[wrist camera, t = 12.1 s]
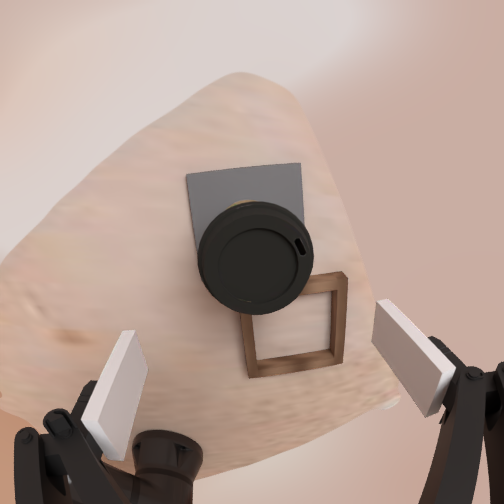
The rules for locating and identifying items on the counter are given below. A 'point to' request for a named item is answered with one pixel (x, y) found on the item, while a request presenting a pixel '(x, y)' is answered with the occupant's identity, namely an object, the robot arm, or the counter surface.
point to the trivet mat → (243, 191)
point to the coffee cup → (255, 257)
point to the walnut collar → (311, 360)
